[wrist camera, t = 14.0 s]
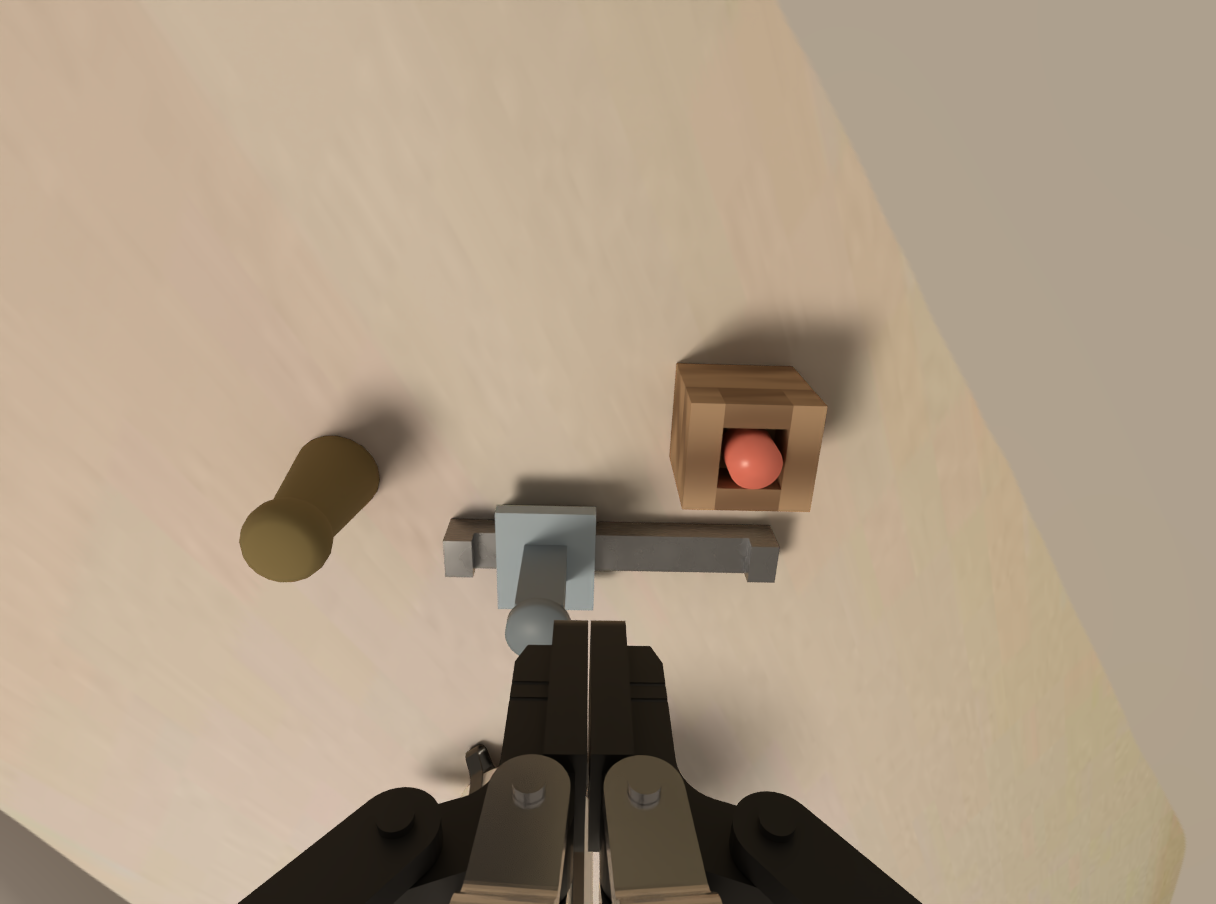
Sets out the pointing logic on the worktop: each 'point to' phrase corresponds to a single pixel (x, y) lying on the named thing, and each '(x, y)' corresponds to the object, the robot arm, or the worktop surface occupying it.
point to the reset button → (751, 457)
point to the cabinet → (744, 401)
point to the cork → (309, 509)
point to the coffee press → (582, 861)
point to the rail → (637, 548)
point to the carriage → (543, 568)
